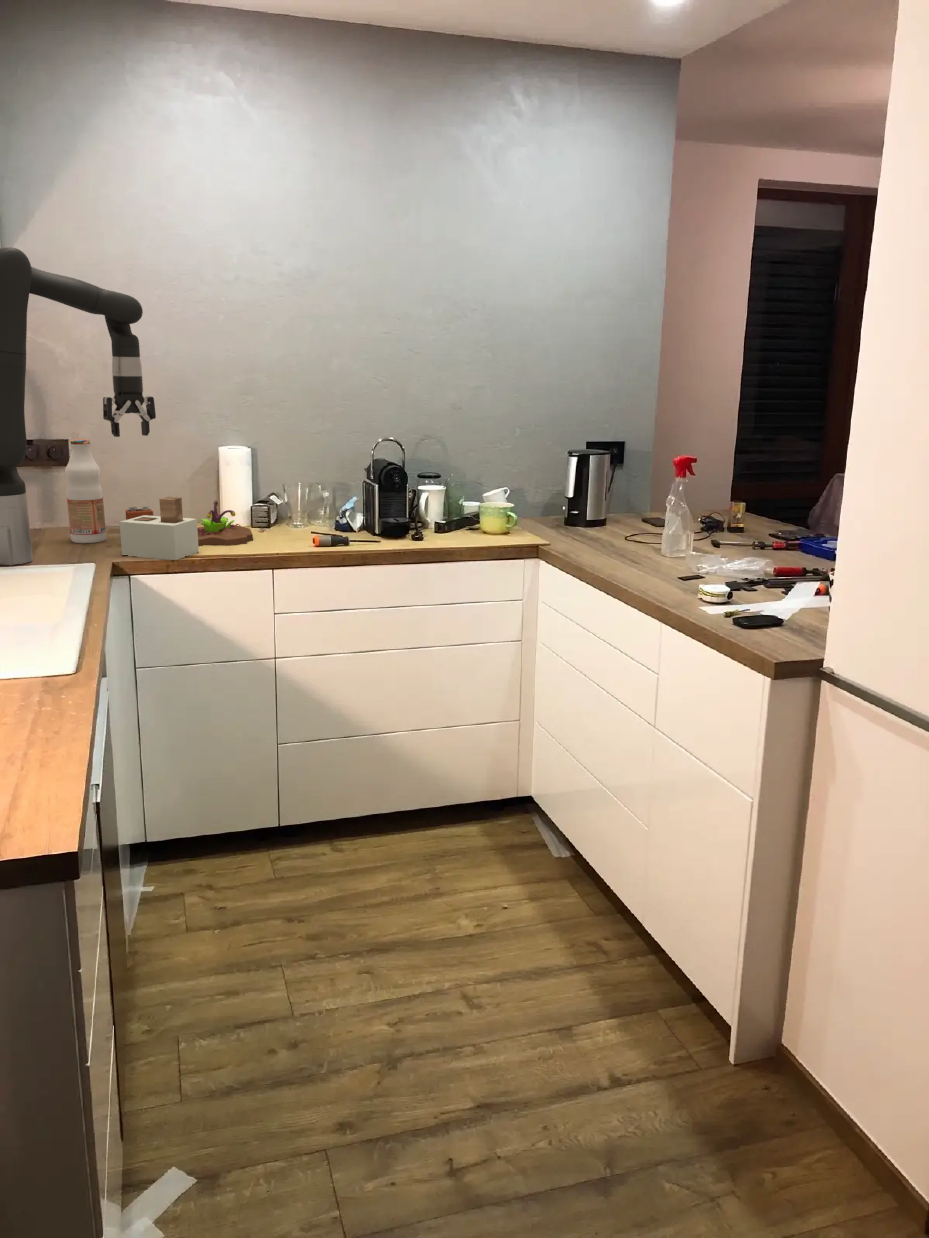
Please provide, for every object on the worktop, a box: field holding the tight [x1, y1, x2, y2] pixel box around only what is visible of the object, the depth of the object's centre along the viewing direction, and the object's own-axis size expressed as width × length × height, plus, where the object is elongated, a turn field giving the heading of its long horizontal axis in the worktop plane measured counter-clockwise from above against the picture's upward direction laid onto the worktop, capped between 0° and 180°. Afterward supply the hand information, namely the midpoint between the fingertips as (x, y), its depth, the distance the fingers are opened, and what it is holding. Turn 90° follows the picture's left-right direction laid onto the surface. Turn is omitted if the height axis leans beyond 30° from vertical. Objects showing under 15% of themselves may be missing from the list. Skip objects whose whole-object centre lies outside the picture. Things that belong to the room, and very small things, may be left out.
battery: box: [125, 506, 154, 520], centre depth 275 cm, size 4×7×10 cm, turn 118°
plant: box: [197, 500, 254, 547], centre depth 281 cm, size 20×20×11 cm
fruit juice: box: [64, 438, 107, 544], centre depth 274 cm, size 9×9×28 cm
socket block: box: [119, 515, 200, 561], centre depth 261 cm, size 11×16×9 cm
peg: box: [158, 496, 184, 523], centre depth 258 cm, size 4×4×9 cm
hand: (131, 436), depth 268 cm, fingers open, 8 cm apart
